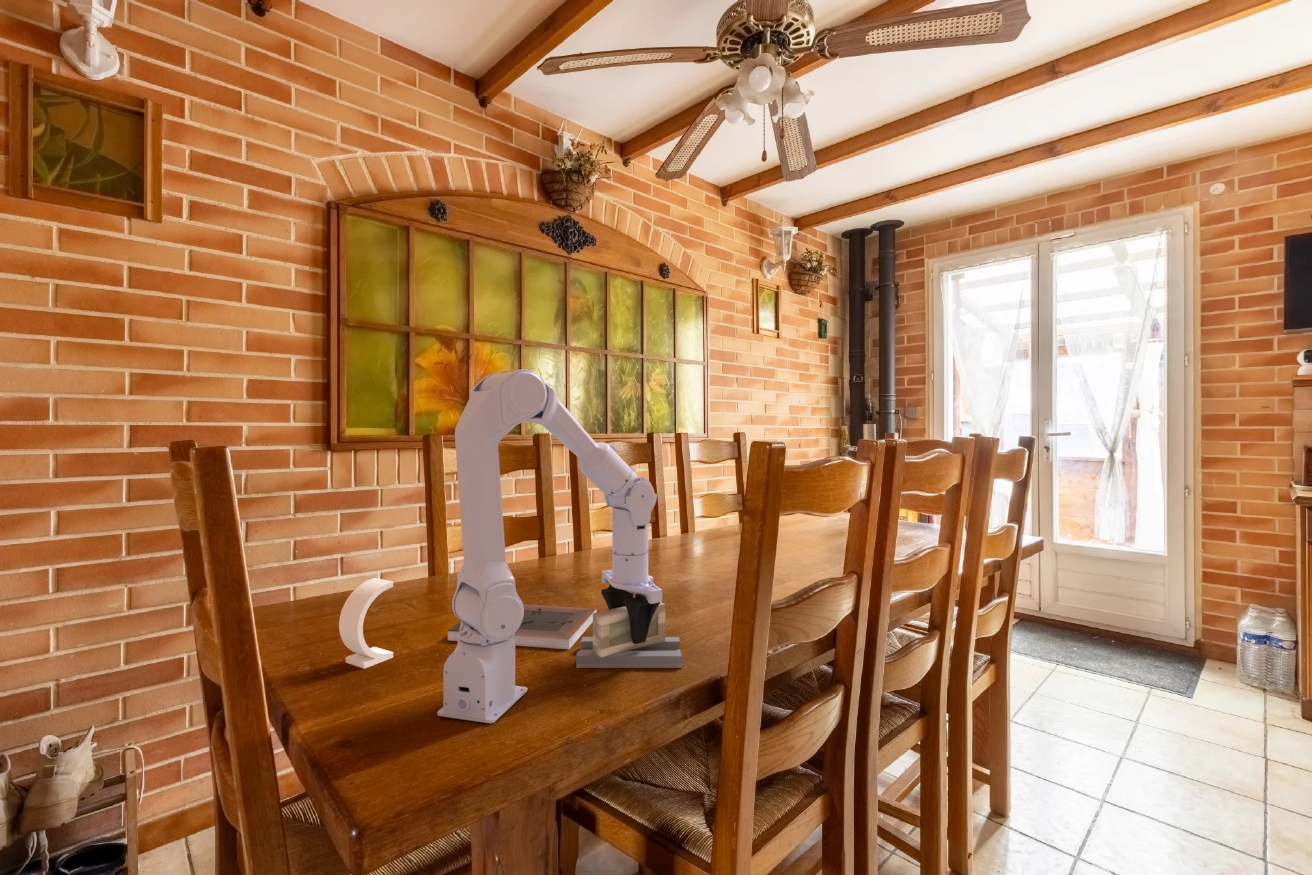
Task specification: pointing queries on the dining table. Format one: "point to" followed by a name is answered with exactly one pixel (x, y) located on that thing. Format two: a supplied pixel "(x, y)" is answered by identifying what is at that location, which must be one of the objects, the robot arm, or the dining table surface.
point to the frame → (623, 631)
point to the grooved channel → (633, 656)
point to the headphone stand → (354, 620)
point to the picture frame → (547, 626)
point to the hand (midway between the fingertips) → (629, 637)
